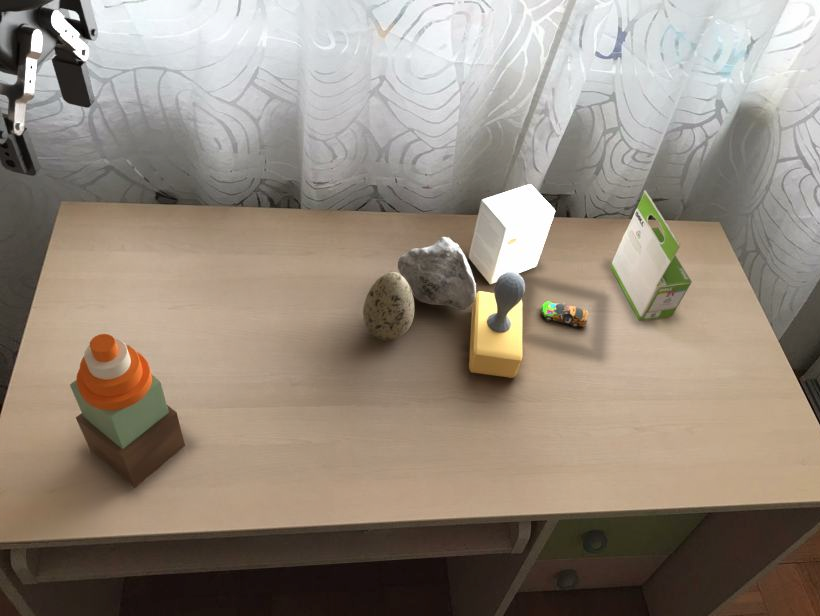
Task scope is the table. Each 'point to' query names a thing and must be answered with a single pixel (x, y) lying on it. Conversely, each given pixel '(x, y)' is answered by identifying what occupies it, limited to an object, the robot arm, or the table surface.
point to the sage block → (126, 415)
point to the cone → (112, 374)
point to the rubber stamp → (498, 328)
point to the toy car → (564, 314)
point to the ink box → (650, 265)
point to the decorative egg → (389, 307)
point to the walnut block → (136, 447)
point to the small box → (510, 232)
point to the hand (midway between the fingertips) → (53, 135)
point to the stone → (439, 274)
